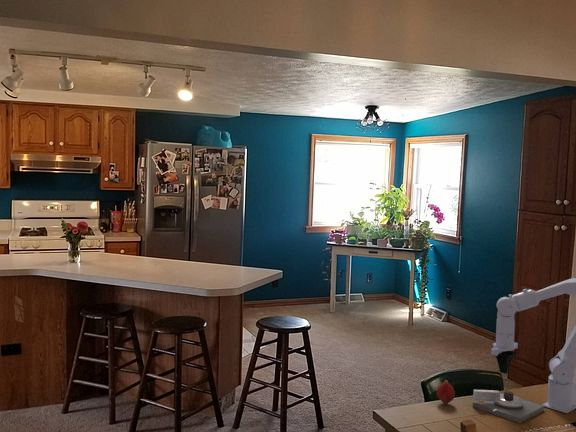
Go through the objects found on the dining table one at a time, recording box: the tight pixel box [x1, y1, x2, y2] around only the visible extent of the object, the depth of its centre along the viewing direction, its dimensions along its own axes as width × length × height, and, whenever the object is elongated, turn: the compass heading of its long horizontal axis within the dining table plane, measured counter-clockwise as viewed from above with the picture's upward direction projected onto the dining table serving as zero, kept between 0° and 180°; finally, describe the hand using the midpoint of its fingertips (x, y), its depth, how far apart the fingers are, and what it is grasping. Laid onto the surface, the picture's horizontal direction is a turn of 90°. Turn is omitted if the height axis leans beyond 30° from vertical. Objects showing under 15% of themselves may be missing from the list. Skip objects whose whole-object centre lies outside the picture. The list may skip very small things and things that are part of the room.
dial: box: [472, 389, 524, 409], centre depth 177 cm, size 16×9×4 cm, turn 86°
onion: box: [436, 380, 456, 405], centre depth 180 cm, size 6×6×8 cm
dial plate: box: [472, 392, 545, 424], centre depth 177 cm, size 16×18×2 cm
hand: (503, 372), depth 184 cm, fingers closed
